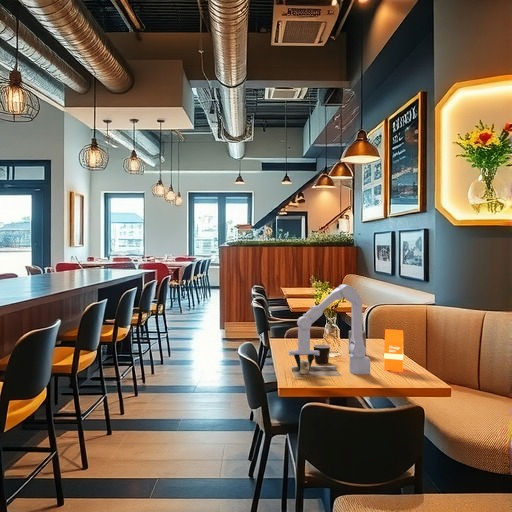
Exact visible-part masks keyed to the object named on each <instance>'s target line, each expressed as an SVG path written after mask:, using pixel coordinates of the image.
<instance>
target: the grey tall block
mask: <svg viewBox="0 0 512 512" xmlns="http://www.w3.org/2000/svg"><path fill="white" fill-rule="evenodd" d="M351 336H352V329H350V330H348V345H349V344H350V339H351ZM362 337H363V340H364V346H365V348H366V349H367V342H366V341H367V339H366V338H367V336H366V330H363V329H362ZM350 353H351V352H350V351H349V350H348V355H349V354H350ZM366 355H367V353H366V354H365V356H366Z"/></svg>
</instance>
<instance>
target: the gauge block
mask: <svg viewBox="0 0 512 512" xmlns="http://www.w3.org/2000/svg"><path fill="white" fill-rule="evenodd" d="M299 372H300V373H301V374H306V373H309V362H308V359H300V371H299Z"/></svg>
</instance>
